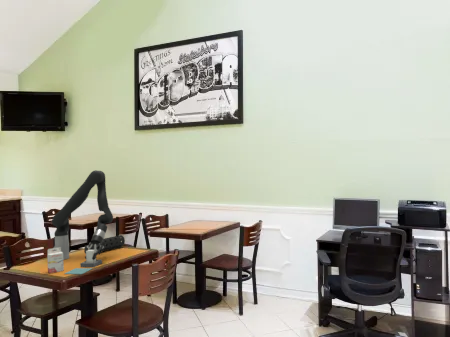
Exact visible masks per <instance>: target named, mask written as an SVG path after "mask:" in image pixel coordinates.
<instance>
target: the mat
mask: <svg viewBox="0 0 450 337" xmlns="http://www.w3.org/2000/svg"><path fill="white" fill-rule="evenodd" d="M91 270H93V267H75V268H73V269H71V270H69V271H66V272H64V274H63V275H84V274H85V273H88V272H89V271H91Z"/></svg>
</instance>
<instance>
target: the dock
mask: <svg viewBox="0 0 450 337" xmlns="http://www.w3.org/2000/svg"><path fill="white" fill-rule="evenodd" d="M101 264H103V259H96V262H94V263H86V260H85V261H83V262H80V267H79V268H96V267H97V266H99V265H101Z"/></svg>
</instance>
